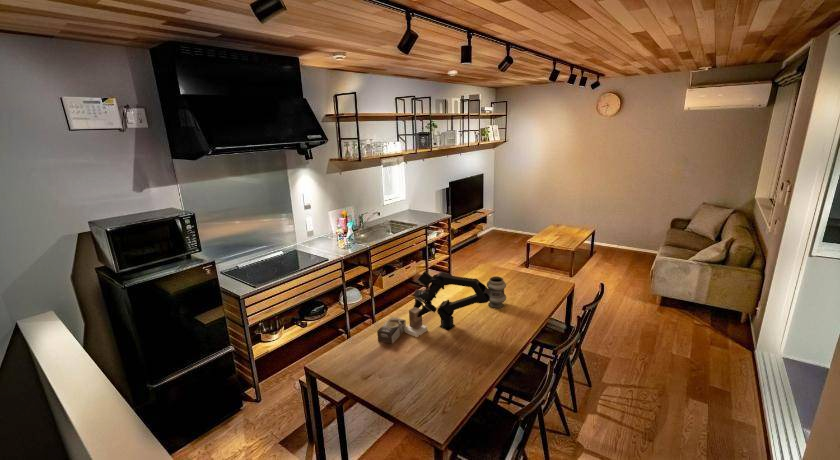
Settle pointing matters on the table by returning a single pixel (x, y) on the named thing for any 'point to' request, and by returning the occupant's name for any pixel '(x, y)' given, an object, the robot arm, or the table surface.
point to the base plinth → (415, 330)
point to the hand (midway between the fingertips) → (415, 314)
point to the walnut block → (415, 318)
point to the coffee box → (391, 330)
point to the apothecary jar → (496, 292)
